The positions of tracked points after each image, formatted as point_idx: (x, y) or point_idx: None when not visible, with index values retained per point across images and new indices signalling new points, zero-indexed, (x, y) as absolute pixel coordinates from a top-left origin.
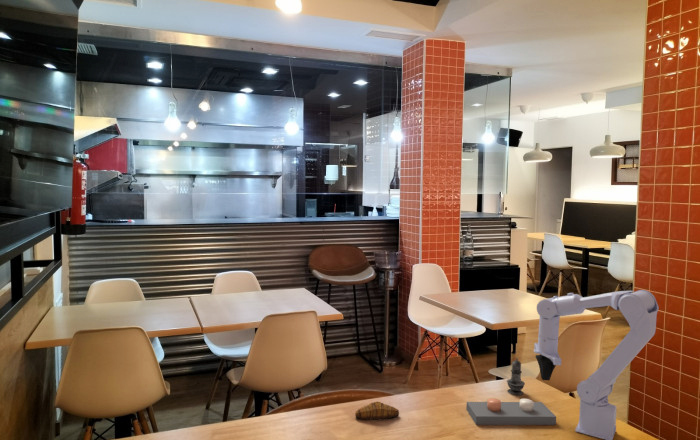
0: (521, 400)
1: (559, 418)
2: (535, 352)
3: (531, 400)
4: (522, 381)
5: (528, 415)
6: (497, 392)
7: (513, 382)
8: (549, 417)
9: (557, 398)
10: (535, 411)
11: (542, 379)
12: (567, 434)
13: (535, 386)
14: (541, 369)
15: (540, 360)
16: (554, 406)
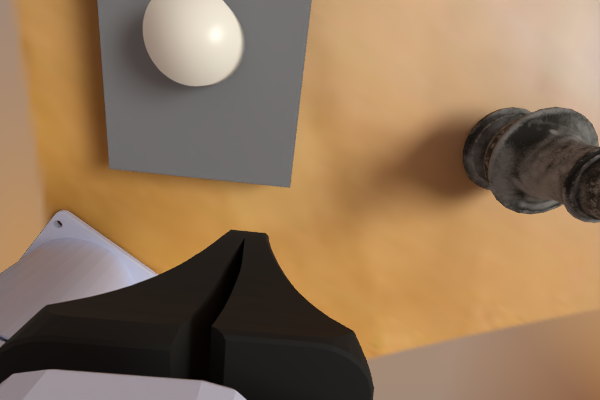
0: (205, 2)
1: (197, 211)
2: (33, 389)
3: (205, 82)
4: (535, 207)
5: (112, 4)
6: (536, 42)
7: (532, 136)
8: (109, 130)
9: (390, 307)
10: (171, 84)
11: (245, 231)
12: (37, 159)
13: (531, 282)
14: (219, 265)
15: (74, 315)
16: (317, 254)
